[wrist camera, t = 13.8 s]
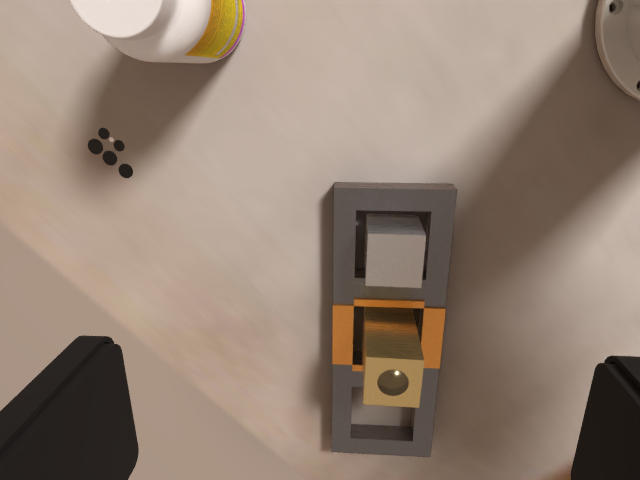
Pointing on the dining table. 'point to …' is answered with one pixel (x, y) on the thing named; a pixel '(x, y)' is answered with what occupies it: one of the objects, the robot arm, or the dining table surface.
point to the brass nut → (391, 357)
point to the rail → (355, 293)
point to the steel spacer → (394, 250)
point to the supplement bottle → (167, 27)
